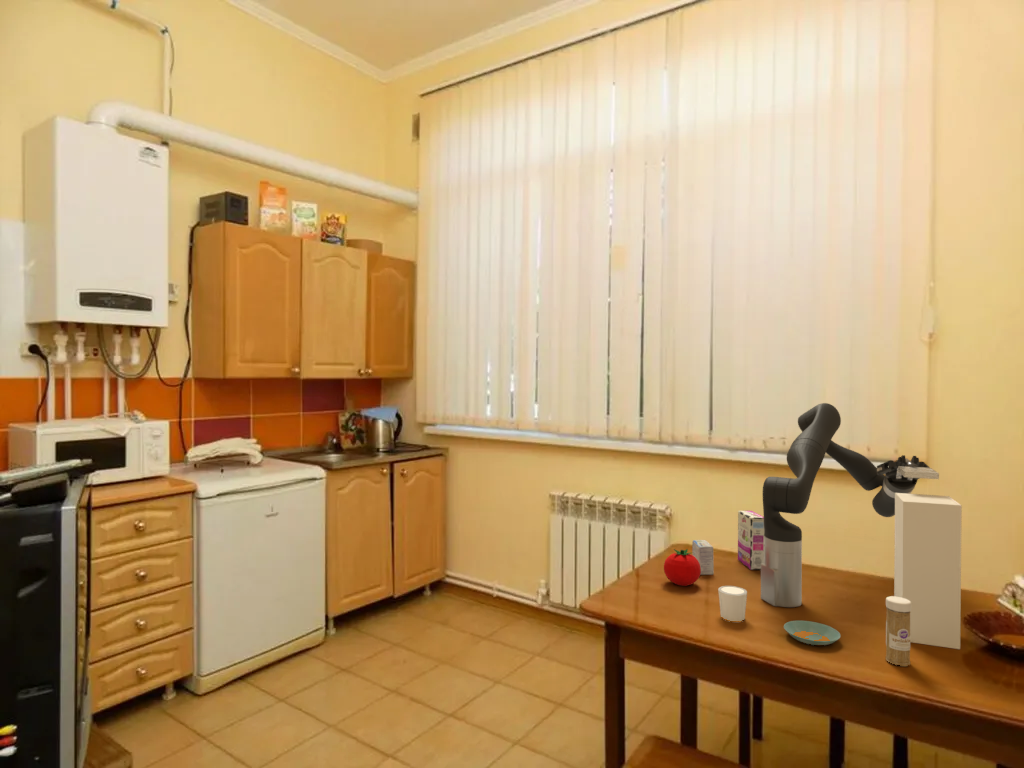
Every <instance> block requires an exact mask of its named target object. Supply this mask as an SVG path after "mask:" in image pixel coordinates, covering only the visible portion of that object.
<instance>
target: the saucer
mask: <svg viewBox="0 0 1024 768" xmlns="http://www.w3.org/2000/svg"><path fill="white" fill-rule="evenodd" d="M783 629H784V630H785V631H786V632H787V633H788V634H789V635H790V636H791V637H792V638H793V639H795V640H796V641H798V642H800V643H802V642H803V643H802V644H805V643H806V645H809V644H811V645H810V646H814V645H824V646H827V645H830V644H834V643H835V642H837V641H838V640H840V638H841V636H842V635H841V633H840V632H839V631H838V630H837V629H836V628H833V627H832V626H830V625H827V624H824V623H820V622H815V621H809V620H801V619H799V620H790V621H788V622H786V623H784V625H783ZM801 631H806V632H813V633H818V634H819V635H818V634H813V635H809V636H806V637H805V638H809V639H804V638H801V637H798V636H795V635H793V634H794V633H795V632H801ZM820 635H821V636H820ZM822 636H825V637H827V638H828V639H829V640H830V641H814V640H819V639H822Z"/></svg>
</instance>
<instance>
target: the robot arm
mask: <svg viewBox="0 0 1024 768" xmlns="http://www.w3.org/2000/svg"><path fill="white" fill-rule="evenodd" d="M841 423H842V418H841V413H840V412H839V411H838V409H837V408H836V407H835V406H834V405H832V404H830V403H827V402H823V403H818V404H817V405H814V406H813V407H812V408H810V409H808V410H806V412H804V413H802V414H801V415H799V417H798V418H797V424H798V428H799V429H800V430H801V433H799V434H798V435H797V437H796V438H795V439H794V440H793V442H792V443H791V445H790V448H789V449H788V452H787V453H786V462H787V465H788V467H789V469H790V471H791V472H792V474H793V475H794V476H795V478H791V477H790V478H789V477H780V476H768V477H766V479H765V480H764V482H763V486H762V509H763V510H762V511H763V517H764V563H763V564H761V570H760V599H761V600H763V601H765V602H766V603H768V604H770V605H771V606H773V607H783V608H795V607H796V608H797V607H800V606H801V605H802V604H803V602H802V600H803V599H802V593H803V590H802V586H803V581H802V580H803V578H802V574H803V573H802V572H803V571H802V566H803V565H802V563H803V561H802V560H803V559H802V555H803V553H802V552H803V551H802V550H803V549H802V548H803V542H802V541H803V532H802V529H801V528H800V526H799V525H796V524H794V523H792V522H791V521H788V520H787V519H786V518H784V517H783V516H782V515H781V513H785V514H792V515H798V514H800V515H801V514H802V513H804V512H805V511H806V509H807V507H808V505H809V504H808V503H809V501H810V497H811V493H812V488H813V486H814V483H815V480H816V477H817V474H818V472H819V470H820V468H821V466H822V464H823V461H824V458H825V456H826V454H827V455H828V456H830V457H831V458H832V459H833V460H834V461H835V462H836V463H838V464H839V465H840V466H841V467H843V468H844V469H845V471H846V472H847V473H849V475H850V476H851V477H852V478H853V479H854V480H855V481H856V483H858V484H859V485H860V486H861V488H863V490H865V491H868V492H869V491H873V490H875V489H877V488H879V487H881V488H880V490H878V492H877V493H876V495H875V496H873V499H872V501H871V502H872V503H871V504H872V508H873V510H874V511H875V512H876V514H878V515H879V516H881V517H883V518H892V517H895V493H907V494H912V493H913V491H914V489H915V487H916V485H917V483H918V481H919V479H921V478H909V477H904V476H903V475H901V474H900V473H899V472H898V466H904V465H905V463H906V460H905V458H906V455H903V454H902V455H901V456H899V457H898V458H897V460H895V461H894V460H891V459H890V460H887V461H885V462H883V463H880V464H877V466H875V464H874V463H873V462H872V461H871V460H869V458H868V457H866V456H865V455H863V454H861V453H859V452H857V451H854V450H853V449H849V448H847V447H844V446H842V445H840V444H838V443H837V442H834V441H833V440H832V439H833V437H834V436H835V434H836V433H837V431H838V430H839V428H840V427H841ZM910 461H911V462H913V463H914V464H916V465H917V466H918V467H924V468H931V467H930V466H929V465H928V464H927V463H925V462H924V461H920V458H919V457H917V455H912V457H911V459H910Z"/></svg>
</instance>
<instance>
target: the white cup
mask: <svg viewBox="0 0 1024 768" xmlns="http://www.w3.org/2000/svg"><path fill="white" fill-rule="evenodd" d="M717 590H718V591H717V592H718V599H719V612H720V617H723V618H724V619H727V620H730V621H742V620H744V621H745V618H746V609H747V607H746V606H747V597H748V591H747V589H745V588H743V587H739V586H735V585H722V586H720V587H718V589H717ZM724 619H723V620H724ZM730 621H729V622H730ZM742 622H743V621H742Z"/></svg>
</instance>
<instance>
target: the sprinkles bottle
mask: <svg viewBox="0 0 1024 768" xmlns="http://www.w3.org/2000/svg"><path fill="white" fill-rule="evenodd" d="M885 606H886V607H885V608H886V620H885V646H886V647H885V648H886V652H885V653H886V654H885V660H886V662H887V661H888V663H889V662H890V663H889V664H891V663H892V664H891V665H893V664H895V666H897V665H900V666H899V667H909V666H910V665H911V661H910V660H911V642H910V613H911V612H910V611H911V602H910V601H909V600H908V599H905V598H902V597H896V596H894V595H891V596H887V597H886V598H885ZM908 665H909V666H908Z"/></svg>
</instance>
